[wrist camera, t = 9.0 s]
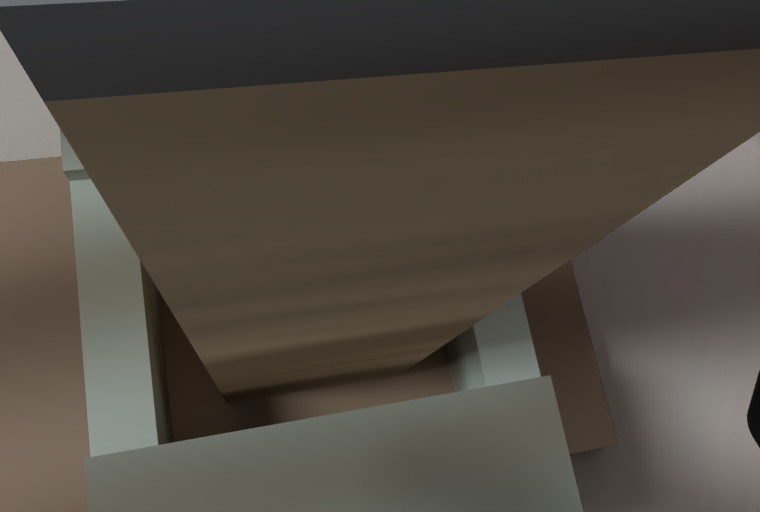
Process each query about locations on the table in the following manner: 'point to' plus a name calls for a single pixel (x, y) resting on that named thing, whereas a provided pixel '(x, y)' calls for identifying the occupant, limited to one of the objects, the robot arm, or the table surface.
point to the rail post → (377, 154)
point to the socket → (267, 414)
